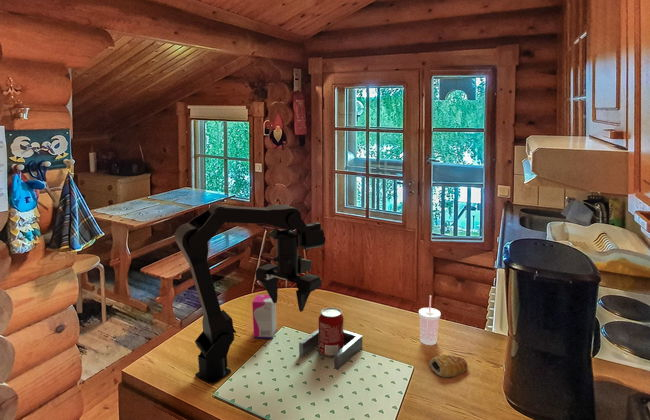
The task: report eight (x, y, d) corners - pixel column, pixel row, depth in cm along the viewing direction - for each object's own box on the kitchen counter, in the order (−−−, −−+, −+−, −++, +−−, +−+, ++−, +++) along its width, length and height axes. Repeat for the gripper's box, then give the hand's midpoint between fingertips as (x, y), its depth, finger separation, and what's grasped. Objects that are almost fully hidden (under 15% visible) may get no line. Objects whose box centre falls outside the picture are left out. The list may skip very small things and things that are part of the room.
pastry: (457, 360, 118) (458, 347, 117) (473, 374, 111) (474, 360, 111) (427, 366, 115) (427, 353, 114) (441, 381, 108) (442, 367, 108)
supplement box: (276, 329, 134) (275, 294, 131) (272, 339, 128) (271, 302, 126) (258, 328, 134) (256, 293, 132) (253, 338, 129) (251, 302, 126)
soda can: (341, 359, 117) (341, 318, 115) (316, 357, 119) (316, 316, 116) (345, 346, 124) (345, 307, 121) (321, 344, 125) (321, 305, 123)
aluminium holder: (337, 370, 113) (337, 356, 112) (299, 355, 119) (299, 342, 118) (362, 348, 123) (362, 335, 122) (325, 336, 130) (325, 323, 129)
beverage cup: (441, 338, 128) (443, 293, 125) (436, 348, 123) (439, 302, 120) (420, 333, 131) (422, 290, 128) (414, 343, 126) (416, 297, 122)
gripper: (333, 251, 118) (332, 305, 121) (280, 239, 128) (281, 289, 131) (308, 262, 109) (308, 320, 112) (253, 248, 119) (255, 302, 123)
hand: (288, 306), depth 120 cm, fingers open, 9 cm apart
